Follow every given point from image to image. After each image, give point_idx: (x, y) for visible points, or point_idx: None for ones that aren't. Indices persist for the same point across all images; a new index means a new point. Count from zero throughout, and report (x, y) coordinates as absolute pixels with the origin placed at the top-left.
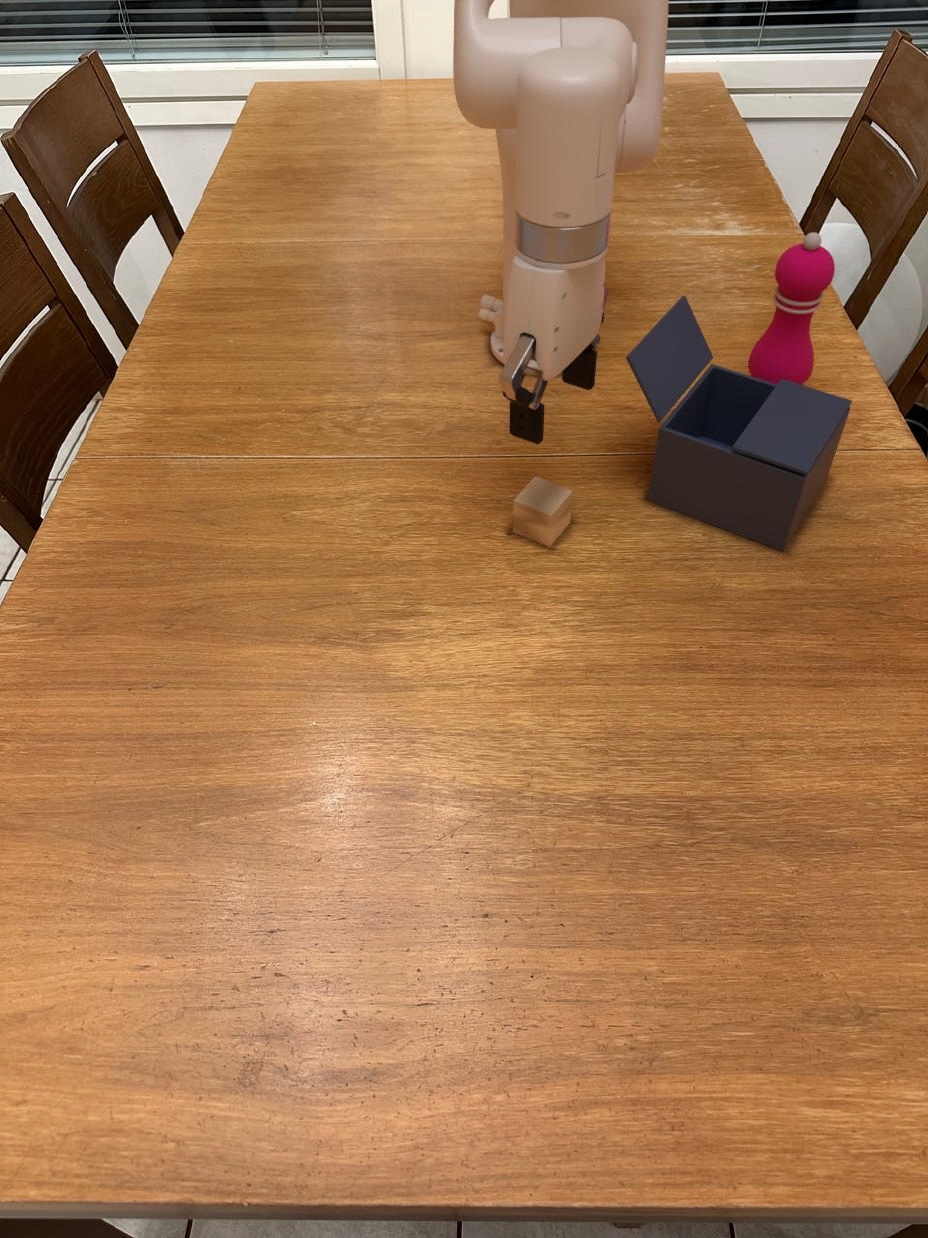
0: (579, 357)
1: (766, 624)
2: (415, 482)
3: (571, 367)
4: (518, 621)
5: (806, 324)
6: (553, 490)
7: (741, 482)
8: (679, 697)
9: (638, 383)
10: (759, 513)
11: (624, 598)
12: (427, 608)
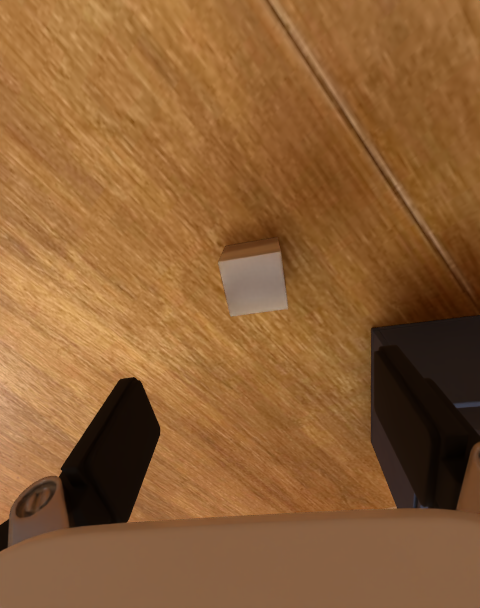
0: (415, 460)
1: (284, 459)
2: (201, 40)
3: (396, 404)
4: (138, 330)
5: None
6: (271, 289)
7: (397, 461)
8: (182, 447)
9: (477, 430)
10: (383, 450)
11: (231, 380)
12: (73, 254)
